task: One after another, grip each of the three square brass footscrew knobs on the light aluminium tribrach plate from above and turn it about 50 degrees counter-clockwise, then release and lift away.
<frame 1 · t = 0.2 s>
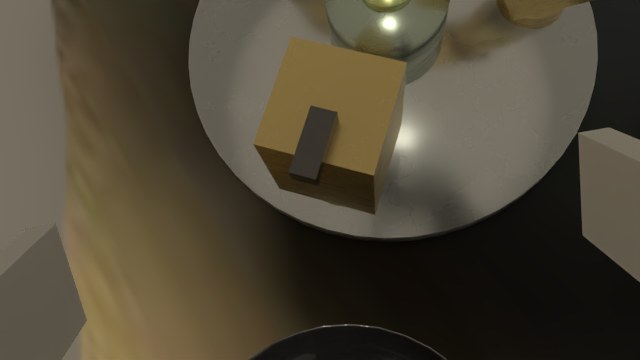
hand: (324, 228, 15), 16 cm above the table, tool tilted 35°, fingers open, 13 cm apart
knob b: (334, 149, 26), point 6 cm above the table, hinge at 0.0°
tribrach: (385, 49, 34), on the table
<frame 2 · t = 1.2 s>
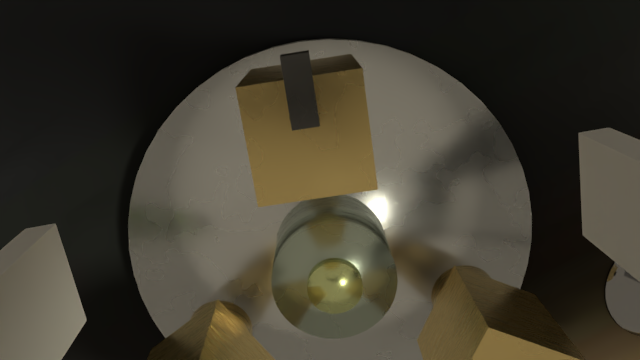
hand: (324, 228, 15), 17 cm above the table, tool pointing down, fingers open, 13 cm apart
knob b: (495, 342, 29), point 6 cm above the table, hinge at 0.0°
knob c: (307, 109, 26), point 6 cm above the table, hinge at 0.0°
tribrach: (330, 237, 34), on the table
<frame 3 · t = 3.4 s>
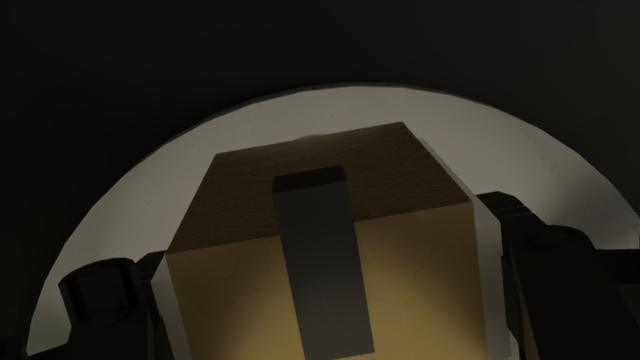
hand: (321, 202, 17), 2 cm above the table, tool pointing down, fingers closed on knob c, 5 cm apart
knob c: (325, 241, 13), point 6 cm above the table, hinge at 0.0°, touching gripper
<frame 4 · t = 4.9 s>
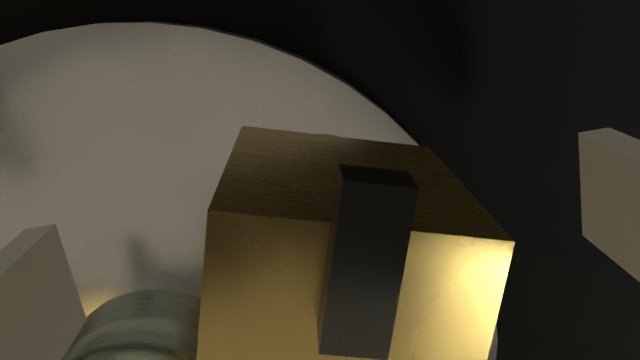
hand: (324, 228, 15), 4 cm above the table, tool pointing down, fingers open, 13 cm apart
knob c: (332, 240, 13), point 6 cm above the table, hinge at 33.0°
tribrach: (168, 351, 20), on the table
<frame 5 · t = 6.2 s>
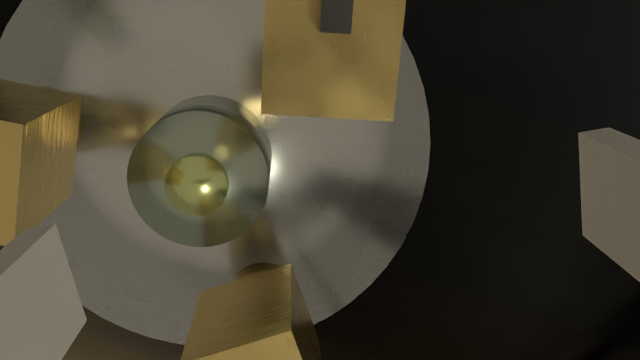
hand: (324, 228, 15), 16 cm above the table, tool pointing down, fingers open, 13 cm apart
knob b: (262, 349, 28), point 6 cm above the table, hinge at 0.0°
knob c: (326, 29, 23), point 6 cm above the table, hinge at 38.7°
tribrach: (214, 148, 31), on the table
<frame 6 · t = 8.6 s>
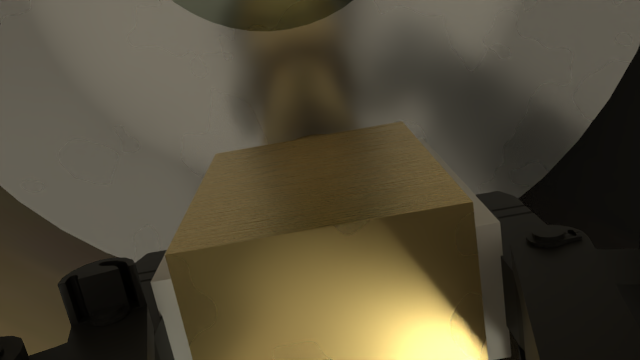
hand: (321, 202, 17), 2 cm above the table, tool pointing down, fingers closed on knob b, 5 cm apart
knob b: (332, 278, 13), point 6 cm above the table, hinge at 0.0°, touching gripper
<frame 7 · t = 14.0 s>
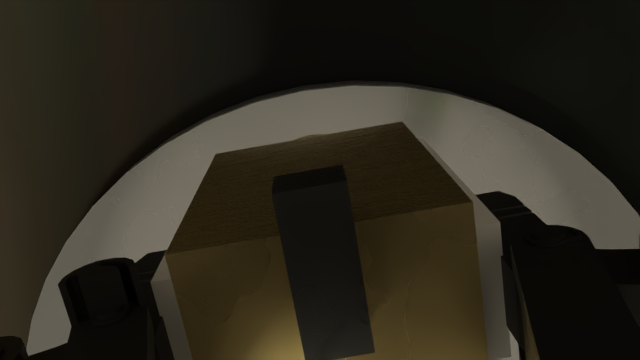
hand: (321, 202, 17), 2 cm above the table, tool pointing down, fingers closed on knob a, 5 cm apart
knob a: (325, 241, 13), point 6 cm above the table, hinge at 0.0°, touching gripper
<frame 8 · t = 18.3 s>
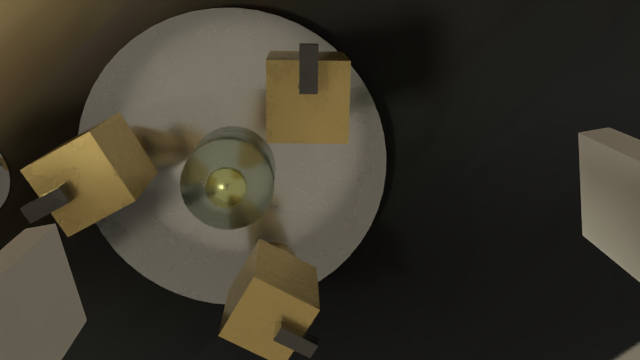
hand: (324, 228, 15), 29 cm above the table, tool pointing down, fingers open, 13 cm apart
knob a: (306, 84, 36), point 6 cm above the table, hinge at 39.4°
knob b: (93, 170, 37), point 6 cm above the table, hinge at 38.5°
knob c: (277, 296, 40), point 6 cm above the table, hinge at 40.1°
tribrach: (235, 162, 44), on the table
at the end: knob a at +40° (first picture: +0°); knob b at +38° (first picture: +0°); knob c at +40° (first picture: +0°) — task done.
